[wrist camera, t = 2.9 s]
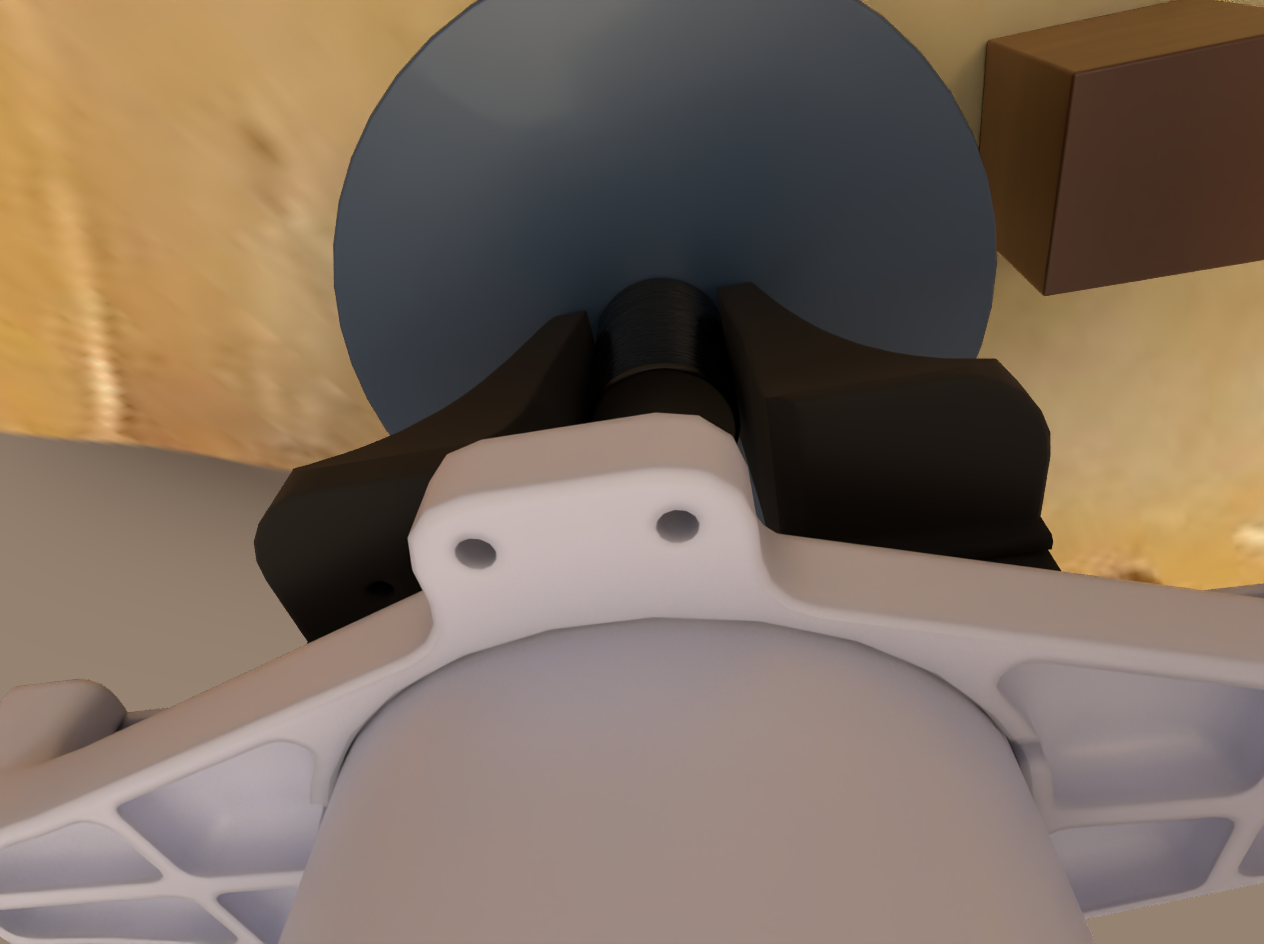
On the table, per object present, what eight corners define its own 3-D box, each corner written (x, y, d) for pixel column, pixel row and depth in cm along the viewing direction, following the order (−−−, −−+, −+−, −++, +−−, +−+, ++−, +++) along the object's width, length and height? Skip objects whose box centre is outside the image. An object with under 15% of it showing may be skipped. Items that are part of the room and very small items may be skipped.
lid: (1105, 18, 12) (1296, 62, 8) (852, 566, 19) (898, 714, 16) (323, -132, 11) (169, -153, 7) (369, 504, 18) (301, 645, 15)
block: (1195, -5, 16) (1343, 18, 12) (1152, 196, 18) (1266, 261, 15) (986, 39, 16) (1073, 73, 13) (972, 228, 19) (1043, 298, 15)
